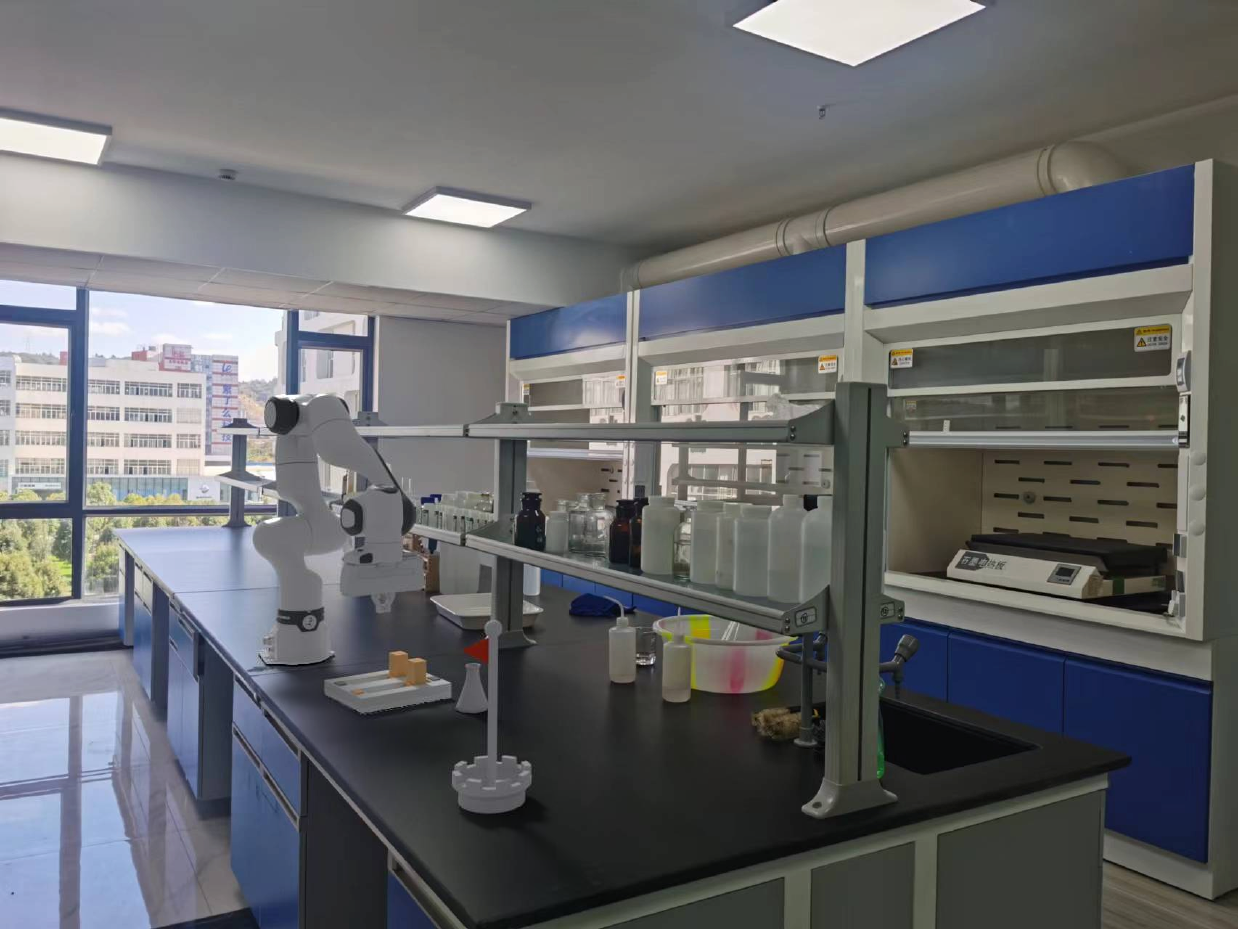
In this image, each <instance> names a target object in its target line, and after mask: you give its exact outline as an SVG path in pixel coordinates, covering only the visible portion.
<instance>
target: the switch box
mask: <svg viewBox="0 0 1238 929" xmlns="http://www.w3.org/2000/svg"><path fill="white" fill-rule="evenodd" d="M387 674H389V669H386V670H385V669H384V670H380V671H379V670H378V671H373V672H368V673H361V674H356V675H355V674H354V675H350V676H343V677H336V678H328V679H324V680H323V681H324V684H323V685H324V686H323V687H324V690H323V691H324V692H325V693H326V694H329V695H330V696H333V697H334V698H335V699H338V700H339V701H340V702H343V703H344V704H347V705H348V706H350V707H352V708H353V709H356V710H357V711H358V712H361V713H364V712H373V711H377V710H381V709H390V708H394V707H401V708H404V707H403V706H406V707H408V706H407V705H411V706H413V705H412V704H416V705H421V704H420V703H422V704H425V703H424V702H427V703H432V702H436V700H437V701H441V700H440V699H443V700H447V699H451V698H452V682H450V681H447V680H445V679H442V678H440V677H438V676H435V675H432V674H431V673H427V672H426V682H427V683H426V684H420V685H414V686H409V687H405V682H407V676H403V677H397V678H391V679H387ZM324 692H323V693H324ZM390 710H391V709H390Z"/></svg>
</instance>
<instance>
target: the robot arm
mask: <svg viewBox="0 0 1238 929" xmlns="http://www.w3.org/2000/svg"><path fill="white" fill-rule="evenodd" d="M263 411H264V412H263V417H264V419H263V420H264V423H265V426H266V428H267V429H268V430H269V431H270V432H271V433H273V434H276V438H275V446H274V447H275V448H274V449H275V450H274V466H275V483H276V485H275V486H276V492H277V494H278V496H279V497H280V498H281V500H283V501H286V502H287V503H289V504H291V505H292V506H293V507H294V509H295V511H296V514H297V515H293V516H292V515H290V516H289V515H287V516H276V517H272V518H268V519H265V520H262V521H260V522H258V524H256V526H255V529H254V531H253V534H252V544H253V547H254V549H255V551H256V552H257V553H258V554H259V555H260V556H261V557H262V558H263V559H264V560H267V561H268V563H269V564H270V565H271V567H272V568H273V570H274V572H275V574H276V578H277V582H278V593H279V594H278V598H279V605H278V606H279V608H278V609H277V613H276V617H275V618H276V619H275V621H276V623H275V624H274V625H273V627H272V628H271V630H270V631H268V633H267V636H263V639H262V642H263V643H262V644H263V646H266V649H267V650H264V649H265V648H264V649H260V650H259V651H265V652H259V653H260V654H261V656H262V657H263V659H264V660H265V661H266V662H287V663H292V662H293V663H295V662H313V661H317V660H321V659H325V658H327V657H329V655H331V654H334V653H335V654H336V651H333V650H331V638H330V628H329V625H327V624H326V623H325V622H324V620H325V614H326V612H325V606H323V603H324V601H323V599H324V598H323V597H324V593H323V590H324V582H323V581H324V580H323V578H322V577H321V576H320V574H318V573H317V572H315V571H313V570H311V569H309V568H308V567H307V566H306V563H305V557H309V556H310V557H311V556H321V555H322V556H323V555H327V554H331V553H335V552H338V551H341V549H343V548H344V547H345V546H346V543H347V540H348V536H350V537H355V538H356V537H357V538H361V537H362V538H364V541H363V542H364V544H363V546H361V547H357V548H355V549H354V550H351V551H348V552H346V553H344V555H343V561H344V563H345V564H343V566H342V568H341V572H340V577H339V579H340V580H339V591H340V593H341V595H343V596H344V597H347V598H352V597H353V598H355V597H362V596H371V597H370V598H371V600H372V602H373V603H374V605H375V612H376V613H378V614H381V613H382V614H383V613H389V612H391V605H392V604H393V601H394V600H395V597H396V593H403V592H410V591H420V590H423V588H424V587H425V572H424V561H425V560H424V556H423V555H422V553H419V551H404V549H403V548H404V539H403V538H404V536H406V535H407V534H409V532H410V531H411V530H412V529H413V527H414V526H415V524H416V521H417V510H416V507H415V505H414V503H413V502H412V501H411V499H410V498H409V497H408V495H406V494H405V492H404V491H403V489H402V488H401V486H400V485H399V483H398V481H397V479H396V478H395V477H394V474H393V473H392V471H391V470H390V468H389V466H388V465H387V463H386V462H385V460H384V458H383V457H382V456H381V454H380V453H379V451H378V449H377V448H375V447H373V446H372V445H370V443H368V442H367V441H366V440H365V438H363V437H362V436H361V434H360V433H359V432H358V430H357V429H356V427H355V424H354V422H353V419H352V417H351V416H350V408H349V406H348V403H347V402H346V401H345V399H343V398H341V397H338V396H336V395H334V394H331V393H319V394H316V393H306V394H288V395H287V394H285V393H284V394H278V395H273V396H271V397H270V398H269V399H268V401H266V404H265V406H264V410H263ZM318 456H319V457H318ZM318 458H319V459H321V460H322V461H324V462H325V463H326V464H328V465H330V466H333V467H336V468H341V469H345V470H347V471H348V470H349V471H352V472H353V473H357V474H359V475H361V476H363V477H365V478H366V479H367V480H368V481H369V482H370V484H371V485H368V487H367V488H366V490H365V491H364V493H362V494H361V495H358V496H355V497H353V498H349V499H348V500H347V501H345V503H344V504H343V506H342V507H341V508H340V509H341V510H340V513H339V514H340V515H339V516H340V517H339V516H338V515H337V514H336V513H334V511H333V510H332V509H331V508H330V507H329V505H328V503H327V502H326V500H325V497H324V495H323V492H322V487H321V481H320V472H319V468H320V467H319V459H318ZM381 594H383V595H384V594H385V597H386V600H385V601H384V603H381V601H380V600H379V599H381V598H382V597H381V596H382V595H381ZM267 659H273V660H267Z"/></svg>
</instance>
